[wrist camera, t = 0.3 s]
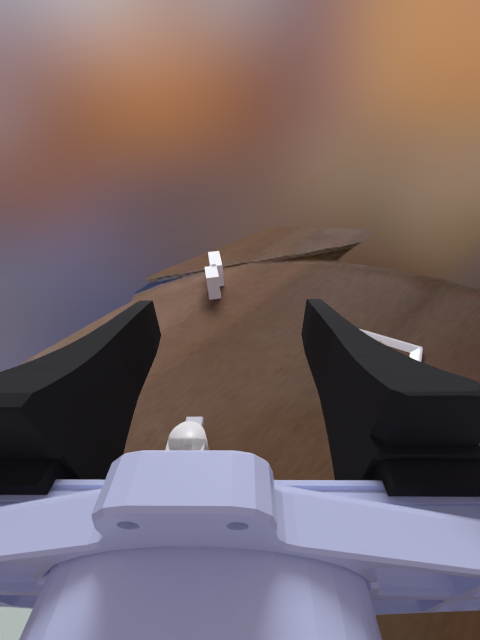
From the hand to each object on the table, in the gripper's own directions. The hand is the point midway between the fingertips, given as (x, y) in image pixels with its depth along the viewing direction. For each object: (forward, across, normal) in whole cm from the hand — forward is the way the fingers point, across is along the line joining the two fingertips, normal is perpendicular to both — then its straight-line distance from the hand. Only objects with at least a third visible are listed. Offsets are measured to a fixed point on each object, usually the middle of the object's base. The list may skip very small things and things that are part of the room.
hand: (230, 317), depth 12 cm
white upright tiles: (+40, +6, +20) cm, 44 cm away
